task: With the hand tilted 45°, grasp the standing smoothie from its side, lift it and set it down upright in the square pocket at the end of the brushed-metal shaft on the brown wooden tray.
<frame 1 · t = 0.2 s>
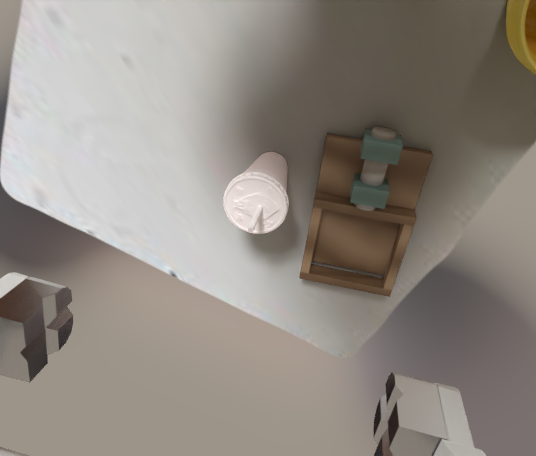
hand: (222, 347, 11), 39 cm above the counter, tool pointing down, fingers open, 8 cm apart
smoothie: (271, 166, 51), on the counter
brown wooden tray: (354, 236, 53), on the counter
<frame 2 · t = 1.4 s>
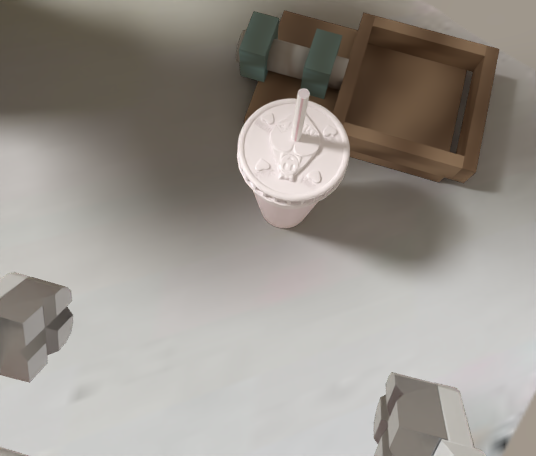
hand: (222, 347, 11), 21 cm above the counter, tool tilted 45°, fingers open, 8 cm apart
smoothie: (283, 206, 34), on the counter
brown wooden tray: (404, 109, 37), on the counter
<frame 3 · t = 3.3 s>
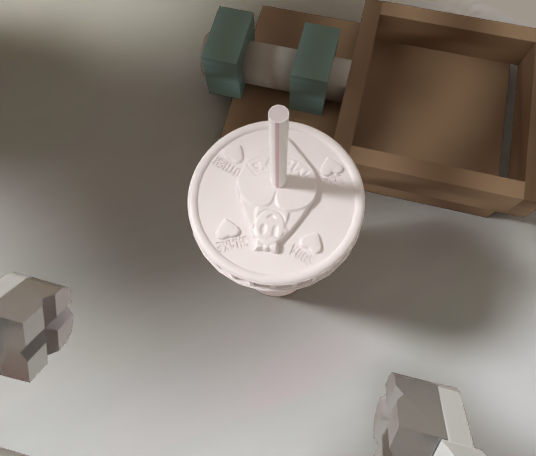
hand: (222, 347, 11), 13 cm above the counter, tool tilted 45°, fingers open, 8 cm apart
smoothie: (276, 264, 25), on the counter
brown wooden tray: (429, 121, 27), on the counter
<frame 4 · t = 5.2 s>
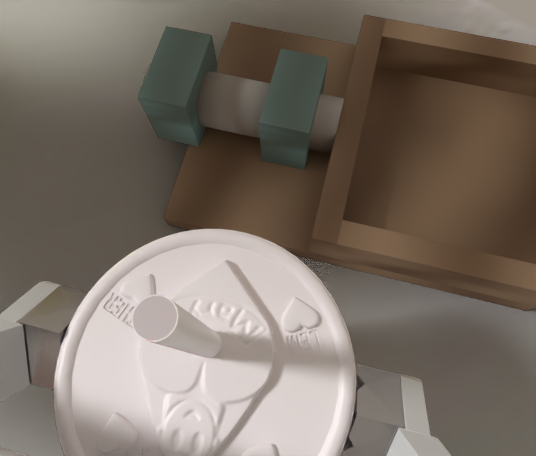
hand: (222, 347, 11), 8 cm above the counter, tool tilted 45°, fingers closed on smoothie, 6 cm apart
smoothie: (241, 375, 18), on the counter, touching gripper
brown wooden tray: (446, 175, 21), on the counter
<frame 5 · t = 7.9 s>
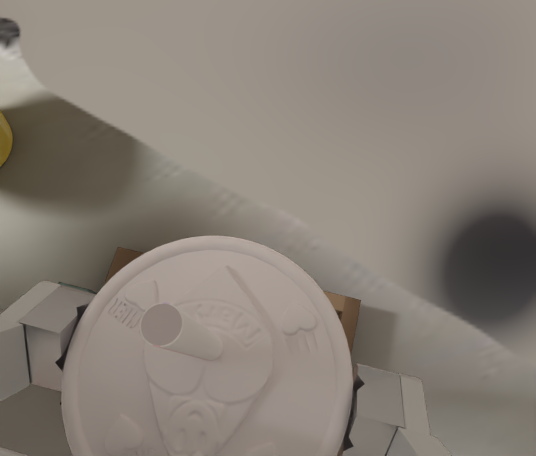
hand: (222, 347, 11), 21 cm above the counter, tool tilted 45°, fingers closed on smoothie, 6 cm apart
smoothie: (241, 376, 19), point 12 cm above the counter, touching gripper
brown wooden tray: (259, 365, 31), on the counter
when the fingers open (10 cm above the counter, at t = 10.4 s): smoothie stays where it is, resting on brown wooden tray.
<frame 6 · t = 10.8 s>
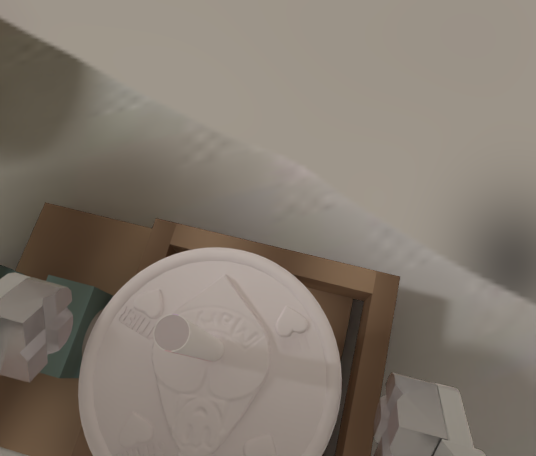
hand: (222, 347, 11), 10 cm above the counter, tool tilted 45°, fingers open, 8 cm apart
smoothie: (242, 375, 20), point 1 cm above the counter, touching brown wooden tray
brown wooden tray: (246, 375, 21), on the counter
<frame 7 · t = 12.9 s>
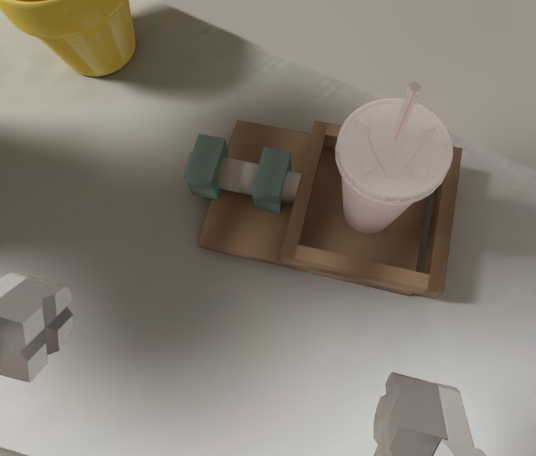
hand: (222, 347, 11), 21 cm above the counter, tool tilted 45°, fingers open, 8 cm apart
plant pot 2: (102, 49, 42), on the counter
smoothie: (367, 211, 34), point 1 cm above the counter, touching brown wooden tray
brown wooden tray: (367, 215, 35), on the counter
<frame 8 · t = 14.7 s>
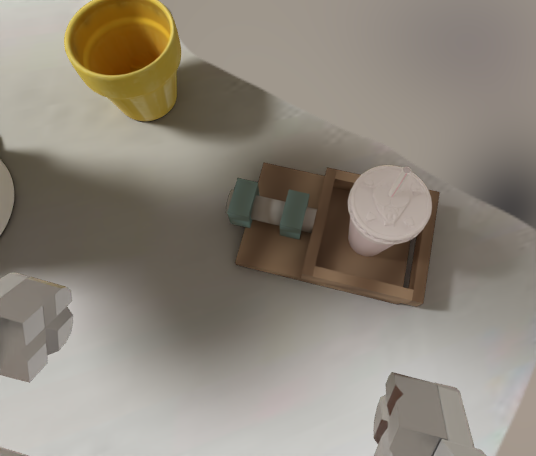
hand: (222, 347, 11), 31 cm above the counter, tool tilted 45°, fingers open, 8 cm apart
plant pot 2: (148, 96, 51), on the counter
smoothie: (366, 238, 44), point 1 cm above the counter, touching brown wooden tray
brown wooden tray: (366, 241, 44), on the counter
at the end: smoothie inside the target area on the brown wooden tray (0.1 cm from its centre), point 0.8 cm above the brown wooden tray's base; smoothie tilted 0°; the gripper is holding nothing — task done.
